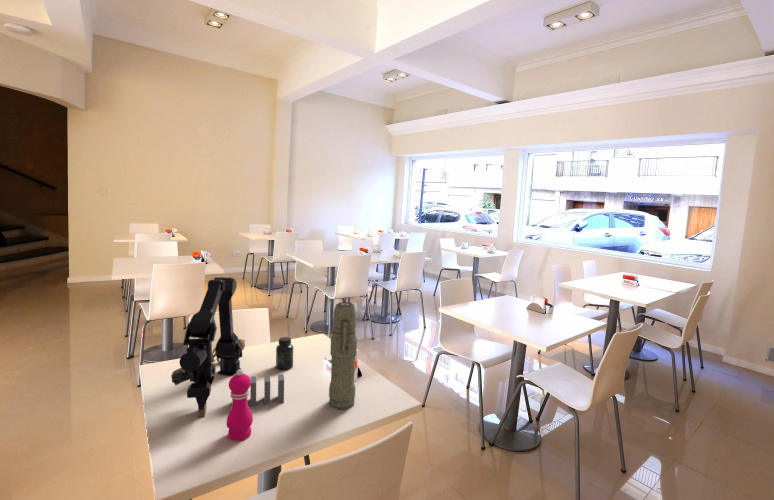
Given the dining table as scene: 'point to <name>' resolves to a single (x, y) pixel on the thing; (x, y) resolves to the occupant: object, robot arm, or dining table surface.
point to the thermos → (343, 356)
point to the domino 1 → (202, 411)
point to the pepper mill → (239, 408)
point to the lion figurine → (242, 343)
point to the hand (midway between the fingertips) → (202, 405)
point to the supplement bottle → (284, 354)
